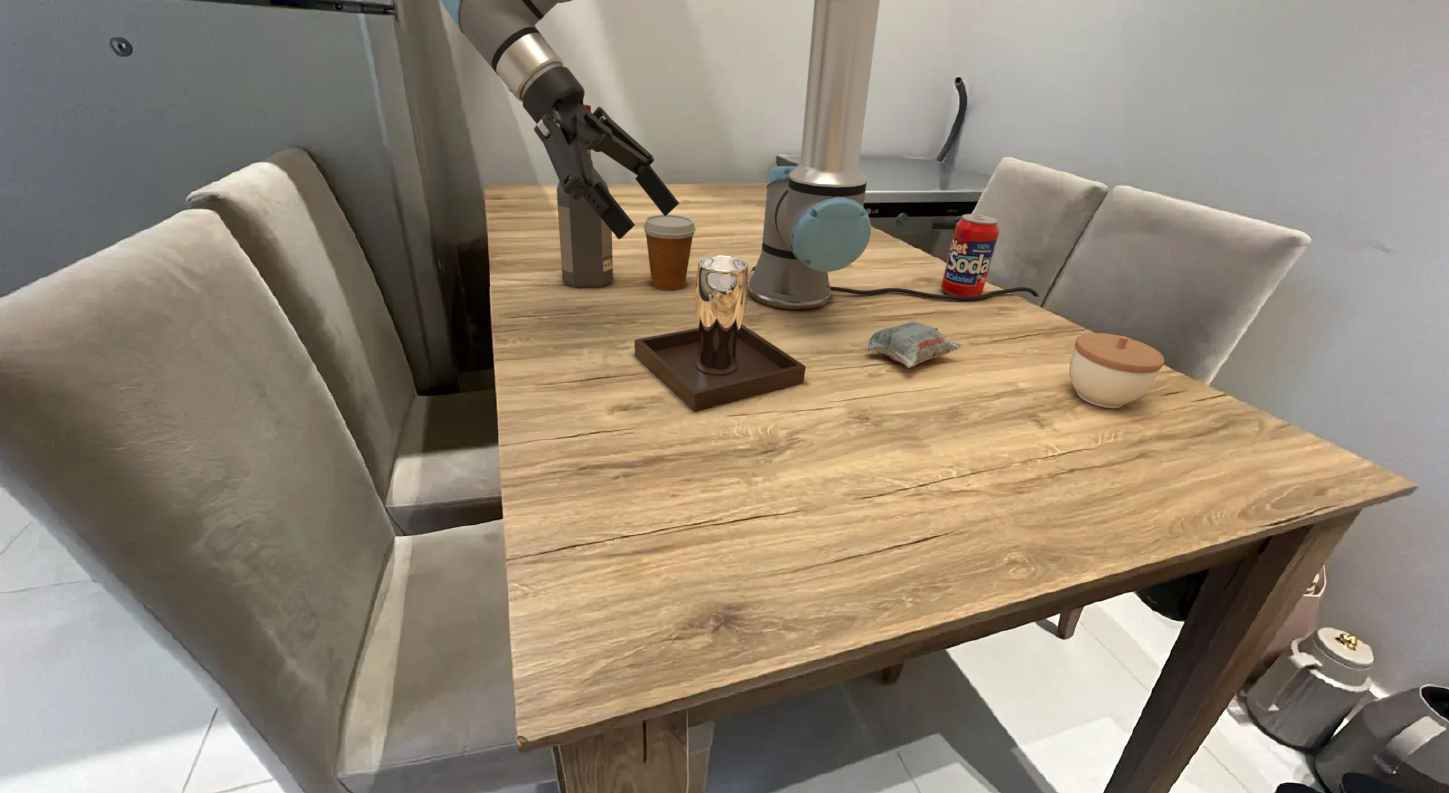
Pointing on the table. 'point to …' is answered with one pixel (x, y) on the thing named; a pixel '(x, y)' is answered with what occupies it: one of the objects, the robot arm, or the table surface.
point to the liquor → (584, 239)
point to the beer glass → (719, 311)
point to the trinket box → (1112, 369)
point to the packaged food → (911, 343)
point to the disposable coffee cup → (669, 249)
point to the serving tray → (699, 390)
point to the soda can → (970, 255)
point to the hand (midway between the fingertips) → (651, 220)
